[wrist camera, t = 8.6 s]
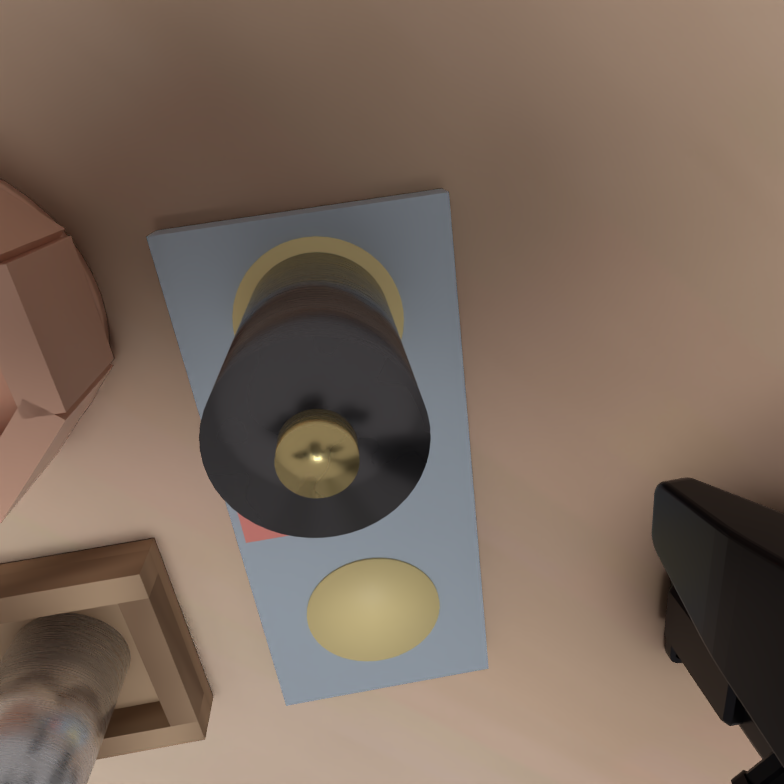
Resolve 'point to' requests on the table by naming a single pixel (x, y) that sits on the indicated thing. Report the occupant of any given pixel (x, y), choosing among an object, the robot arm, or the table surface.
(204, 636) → the table surface
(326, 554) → the blue grey board
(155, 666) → the brown wooden tray
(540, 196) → the table surface
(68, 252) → the pot
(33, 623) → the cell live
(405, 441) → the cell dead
